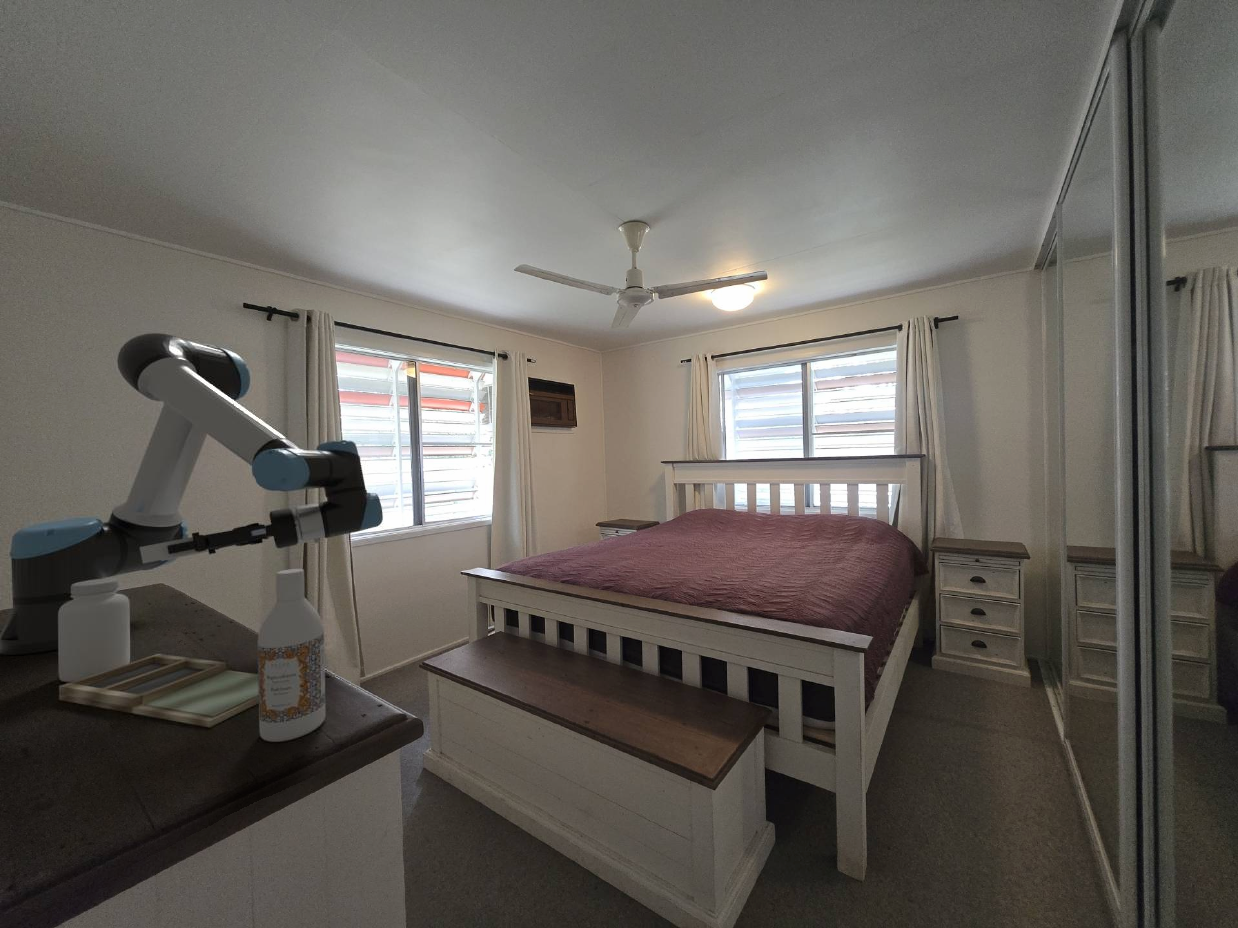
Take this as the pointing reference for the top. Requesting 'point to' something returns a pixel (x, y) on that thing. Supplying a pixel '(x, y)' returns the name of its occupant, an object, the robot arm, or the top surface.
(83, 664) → the pill bottle
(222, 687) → the tray
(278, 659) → the bath foam
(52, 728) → the top surface
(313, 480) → the robot arm
